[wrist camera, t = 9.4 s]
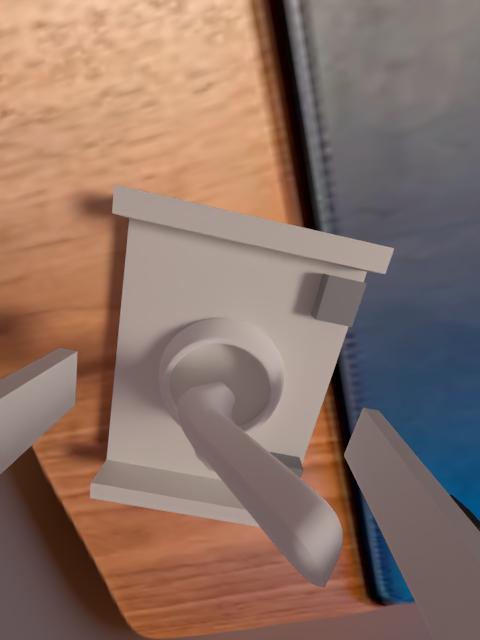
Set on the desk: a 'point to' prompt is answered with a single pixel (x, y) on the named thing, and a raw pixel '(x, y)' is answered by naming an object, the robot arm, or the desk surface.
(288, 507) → the hook
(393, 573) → the desk surface
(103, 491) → the panel
